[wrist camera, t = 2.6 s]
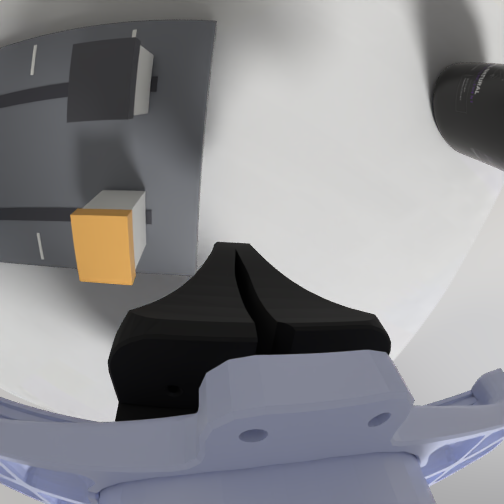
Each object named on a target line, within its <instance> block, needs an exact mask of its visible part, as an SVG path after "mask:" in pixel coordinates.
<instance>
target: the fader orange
mask: <svg viewBox="0 0 504 504" xmlns="http://www.w3.org/2000/svg"><path fill="white" fill-rule="evenodd" d="M70 217H71V226H72V234H73V242H74V249H75V255H76V262H77V268H78V273H79V279H80V281H83V282H95V283H108V284H121V285H133V282H134V279H135V277H136V271H135V269H136V267H137V265H138V262H139V260H140V257H141V255H142V253H143V250H144V248H145V246H146V214H145V191H126V190H102V191H101V192H100V193H99V194H98V195H96V196H95V197H94V198H93V199H92V200H91V201H90V202H89V203H87V204H86V205H85V206H84V207H83V208H82V209H79V208H77V209H76V210H75V211H74V212H73V213H72V214H71V215H70Z"/></svg>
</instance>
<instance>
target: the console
mask: <svg viewBox="0 0 504 504" xmlns="http://www.w3.org/2000/svg"><path fill="white" fill-rule="evenodd" d="M216 23H217V21H206V20H149V21H133V22H121V23H112V24H103V25H96V26H89V27H83V28H77V29H71V30H66V31H61V32H57V33H52V34H48V35H43V36H39V37H36V38H32V39H28V40H25V41H21V42H18V43H14V44H11V45H8V46H5V47H2V48H0V262H5V263H16V264H27V265H38V266H50V267H63V268H76V269H78V268H77V262H76V255H75V249H74V242H73V234H72V226H71V217H70V215H71V214H72V213H73V212H74V211H75V210H76V209H77V208H79V209H82V208H83V207H84V206H85V205H86V204H87V203H89V202H90V201H91V200H92V199H93V198H94V197H95V196H96V195H98V194H99V193H100V192H101V191H102V190H126V191H145V214H146V246H145V248H144V250H143V253H142V255H141V257H140V260H139V262H138V265H137V267H136V269H135V271H136V273H151V274H169V275H188V276H194V275H195V274H196V266H197V242H198V220H199V201H200V185H201V170H202V157H203V144H204V132H205V121H206V111H207V101H208V92H209V82H210V74H211V65H212V57H213V49H214V42H215V35H216ZM130 37H137V38H138V39H139V40H140V41H141V46H142V47H144V48H145V49H146V50H148V51H149V52H150V53H152V54H153V55H154V58H153V66H152V75H151V85H150V96H149V109H148V113H147V114H140V115H134V118H133V119H126V120H99V121H83V122H70V123H67V100H68V85H69V73H70V64H71V55H72V48H73V44H77V43H84V42H91V41H99V40H107V39H118V38H130Z"/></svg>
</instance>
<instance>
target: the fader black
mask: <svg viewBox="0 0 504 504" xmlns="http://www.w3.org/2000/svg"><path fill="white" fill-rule="evenodd" d="M153 58H154V55H153V54H152V53H150V52H149V51H148V50H146V49H145V48H144V47H142V46H141V41H140V40H139V39H138V38H137V37H130V38H118V39H107V40H99V41H91V42H84V43H77V44H73V48H72V55H71V64H70V73H69V85H68V100H67V123H70V122H83V121H99V120H126V119H133V118H134V115H140V114H147V113H148V109H149V96H150V85H151V75H152V66H153Z"/></svg>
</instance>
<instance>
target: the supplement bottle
mask: <svg viewBox="0 0 504 504" xmlns="http://www.w3.org/2000/svg"><path fill="white" fill-rule="evenodd" d="M433 109H434V116H435V120H436V123H437V126H438V129H439V131H440V133H441V135H442V136H443V138H444V140H445V141H446V142H447V143H448V144H449V145H450V146H451V147H452V148H453V149H454V150H456V151H457V152H459V153H461V154H464V155H466V156H469V157H471V158H474V159H476V160H479V161H481V162H483V163H486V164H488V165H491V166H493V167H495V168H498V169H500V170H502V171H504V64H496V63H474V62H469V63H467V62H466V63H455V64H453V65H450V66H449V67H447V68H446V69H445V70H444V71H443V72H442V73H441V75H440V76H439V78H438V80H437V83H436V86H435V89H434V95H433Z"/></svg>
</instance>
